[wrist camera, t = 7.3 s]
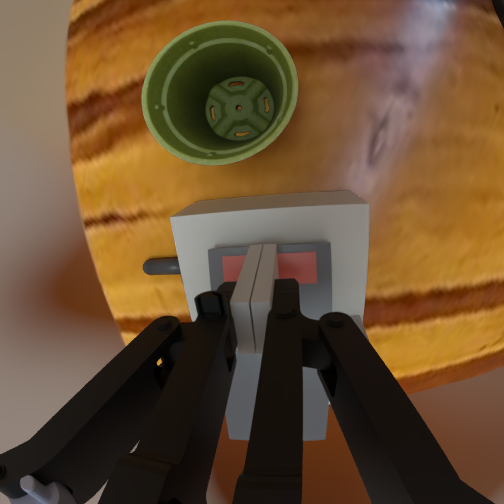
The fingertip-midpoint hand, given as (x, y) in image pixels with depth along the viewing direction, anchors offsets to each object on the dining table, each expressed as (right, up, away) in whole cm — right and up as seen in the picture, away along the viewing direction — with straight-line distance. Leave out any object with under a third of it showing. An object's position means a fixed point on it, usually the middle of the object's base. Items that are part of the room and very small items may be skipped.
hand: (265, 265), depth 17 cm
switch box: (-1, -4, +11) cm, 12 cm away
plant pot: (-2, +13, +5) cm, 14 cm away
